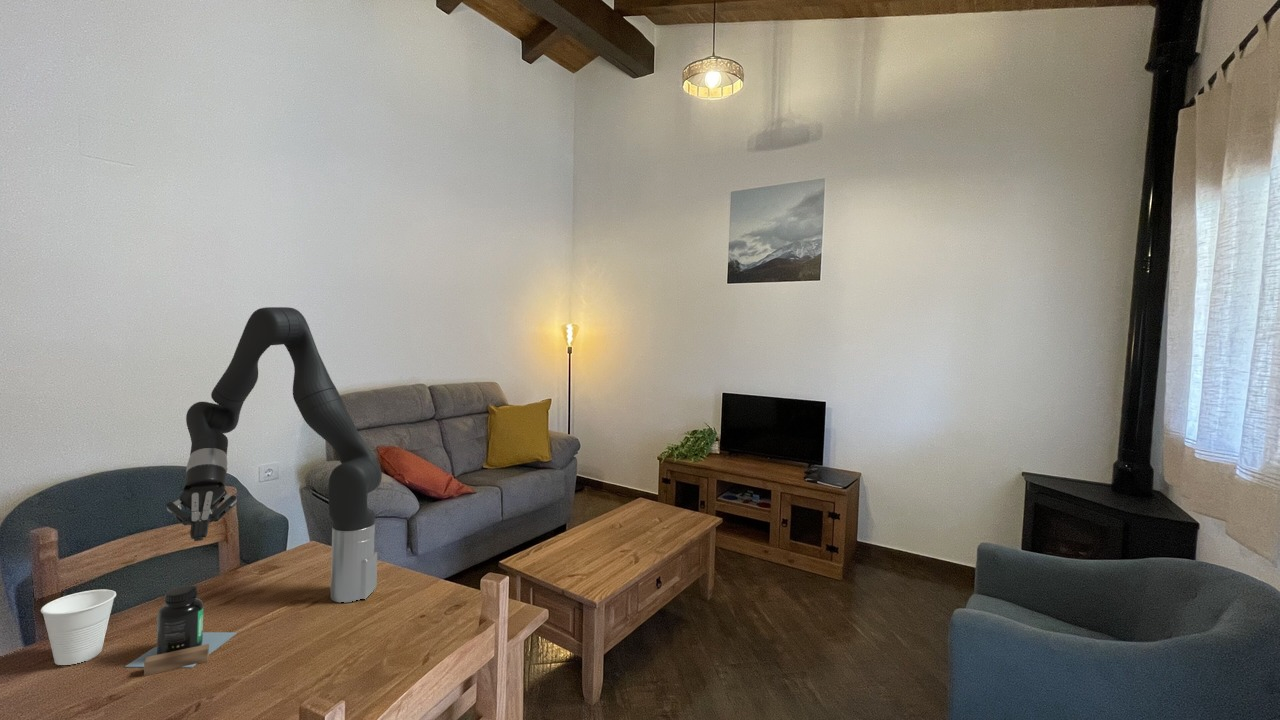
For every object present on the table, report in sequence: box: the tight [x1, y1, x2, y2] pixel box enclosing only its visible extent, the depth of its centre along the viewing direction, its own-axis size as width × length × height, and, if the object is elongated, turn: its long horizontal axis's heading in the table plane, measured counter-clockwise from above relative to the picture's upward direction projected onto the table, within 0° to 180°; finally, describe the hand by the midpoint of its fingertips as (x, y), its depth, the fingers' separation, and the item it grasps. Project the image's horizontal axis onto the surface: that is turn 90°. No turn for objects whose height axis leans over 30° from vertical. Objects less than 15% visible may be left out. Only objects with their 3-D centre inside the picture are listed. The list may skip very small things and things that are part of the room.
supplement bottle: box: [156, 584, 204, 655], centre depth 104 cm, size 7×7×12 cm
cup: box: [40, 588, 117, 666], centre depth 101 cm, size 10×10×11 cm
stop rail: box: [143, 644, 210, 677], centre depth 99 cm, size 9×2×2 cm, turn 123°
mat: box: [124, 631, 238, 669], centre depth 105 cm, size 12×12×1 cm
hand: (198, 538), depth 116 cm, fingers closed
